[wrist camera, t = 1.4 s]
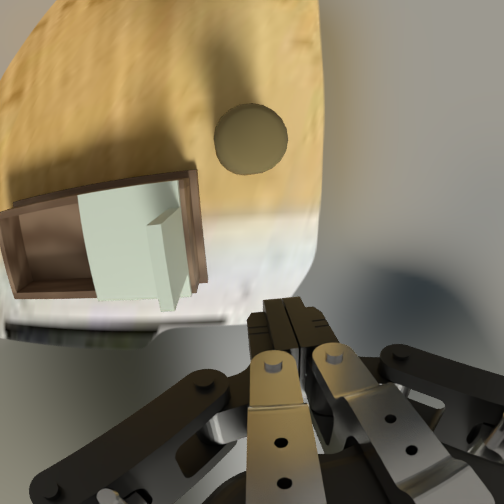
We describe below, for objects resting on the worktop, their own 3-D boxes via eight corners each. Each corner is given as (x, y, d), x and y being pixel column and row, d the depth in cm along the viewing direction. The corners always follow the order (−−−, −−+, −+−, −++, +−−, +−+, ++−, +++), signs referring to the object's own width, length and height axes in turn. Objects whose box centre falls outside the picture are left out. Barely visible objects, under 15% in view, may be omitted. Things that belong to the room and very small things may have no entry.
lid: (80, 194, 23) (34, 207, 16) (178, 180, 24) (156, 187, 17) (100, 298, 27) (68, 338, 19) (192, 294, 27) (180, 339, 20)
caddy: (17, 201, 27) (-7, 208, 23) (197, 169, 29) (190, 170, 24) (35, 288, 31) (16, 304, 26) (208, 279, 32) (204, 299, 28)
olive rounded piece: (215, 118, 27) (207, 92, 17) (274, 118, 28) (298, 95, 17) (214, 175, 29) (205, 181, 19) (273, 175, 29) (297, 182, 19)
